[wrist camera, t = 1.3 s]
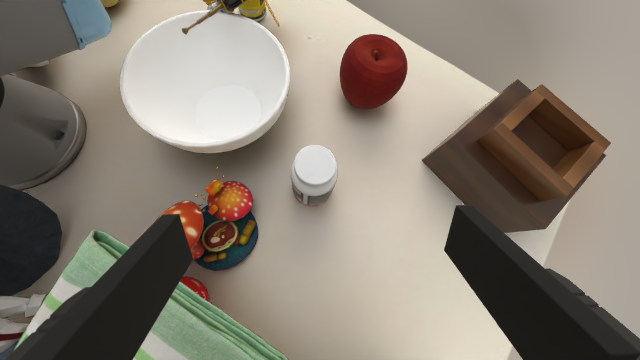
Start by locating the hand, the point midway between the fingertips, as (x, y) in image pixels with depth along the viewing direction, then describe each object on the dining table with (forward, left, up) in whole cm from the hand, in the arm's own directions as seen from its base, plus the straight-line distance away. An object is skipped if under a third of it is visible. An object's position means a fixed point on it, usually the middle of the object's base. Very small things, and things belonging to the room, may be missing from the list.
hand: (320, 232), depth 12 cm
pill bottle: (+6, +6, -23) cm, 24 cm away
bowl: (+3, +23, -23) cm, 32 cm away
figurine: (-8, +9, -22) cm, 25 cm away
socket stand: (+30, -9, -23) cm, 39 cm away
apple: (+23, +13, -23) cm, 35 cm away
